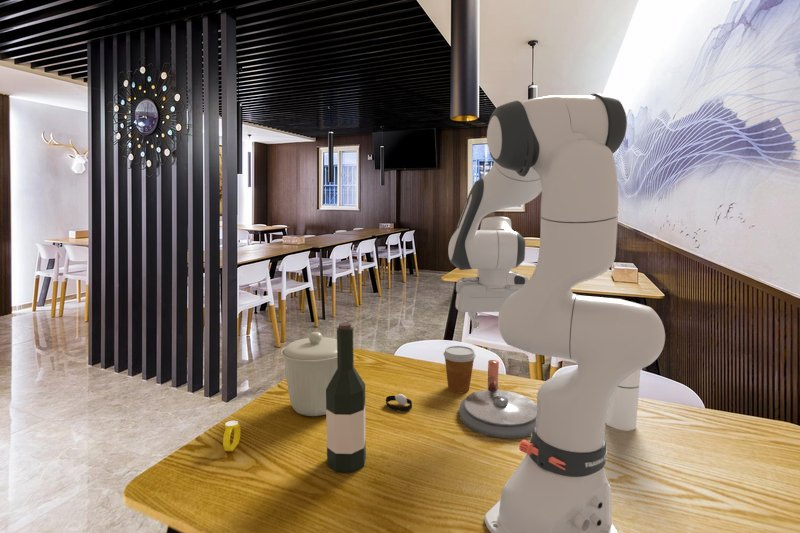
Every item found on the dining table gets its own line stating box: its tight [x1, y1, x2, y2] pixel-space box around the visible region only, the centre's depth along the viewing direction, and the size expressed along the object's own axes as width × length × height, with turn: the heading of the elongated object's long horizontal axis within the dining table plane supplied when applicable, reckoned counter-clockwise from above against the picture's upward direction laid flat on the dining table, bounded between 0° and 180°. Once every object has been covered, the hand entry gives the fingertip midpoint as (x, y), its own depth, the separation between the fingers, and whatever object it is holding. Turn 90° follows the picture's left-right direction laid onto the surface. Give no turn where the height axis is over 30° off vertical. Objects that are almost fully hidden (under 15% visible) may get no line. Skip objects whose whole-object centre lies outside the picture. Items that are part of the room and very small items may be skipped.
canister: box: [280, 331, 337, 417], centre depth 114 cm, size 18×18×21 cm
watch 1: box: [222, 420, 242, 452], centre depth 96 cm, size 6×3×6 cm, turn 177°
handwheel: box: [464, 359, 537, 427], centre depth 110 cm, size 19×18×10 cm
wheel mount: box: [459, 398, 536, 440], centre depth 110 cm, size 21×21×2 cm
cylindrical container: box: [605, 369, 642, 431], centre depth 106 cm, size 7×7×25 cm
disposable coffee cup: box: [443, 345, 476, 394], centre depth 128 cm, size 10×10×12 cm
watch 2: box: [385, 393, 413, 412], centre depth 116 cm, size 8×5×4 cm, turn 63°
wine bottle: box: [325, 322, 367, 474], centre depth 89 cm, size 8×8×30 cm
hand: (492, 327), depth 116 cm, fingers open, 8 cm apart
